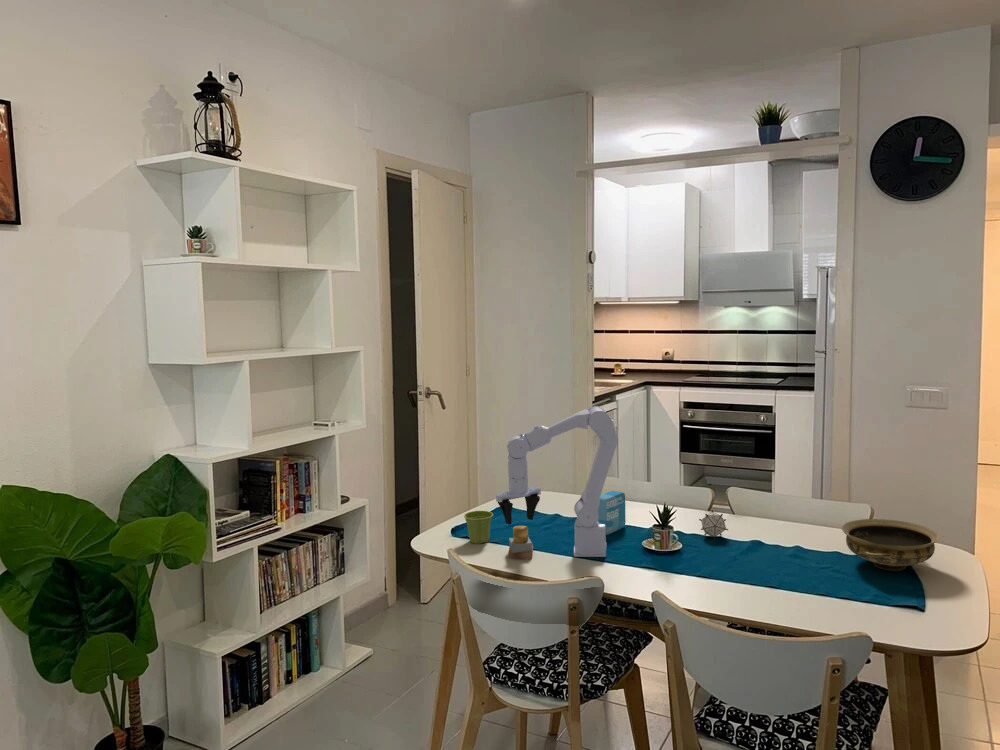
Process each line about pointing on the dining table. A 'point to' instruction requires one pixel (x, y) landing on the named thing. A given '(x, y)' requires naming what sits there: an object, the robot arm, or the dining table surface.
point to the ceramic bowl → (890, 542)
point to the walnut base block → (520, 554)
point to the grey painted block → (520, 546)
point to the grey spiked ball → (713, 524)
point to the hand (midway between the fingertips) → (519, 521)
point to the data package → (612, 511)
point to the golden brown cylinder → (520, 534)
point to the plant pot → (478, 525)
